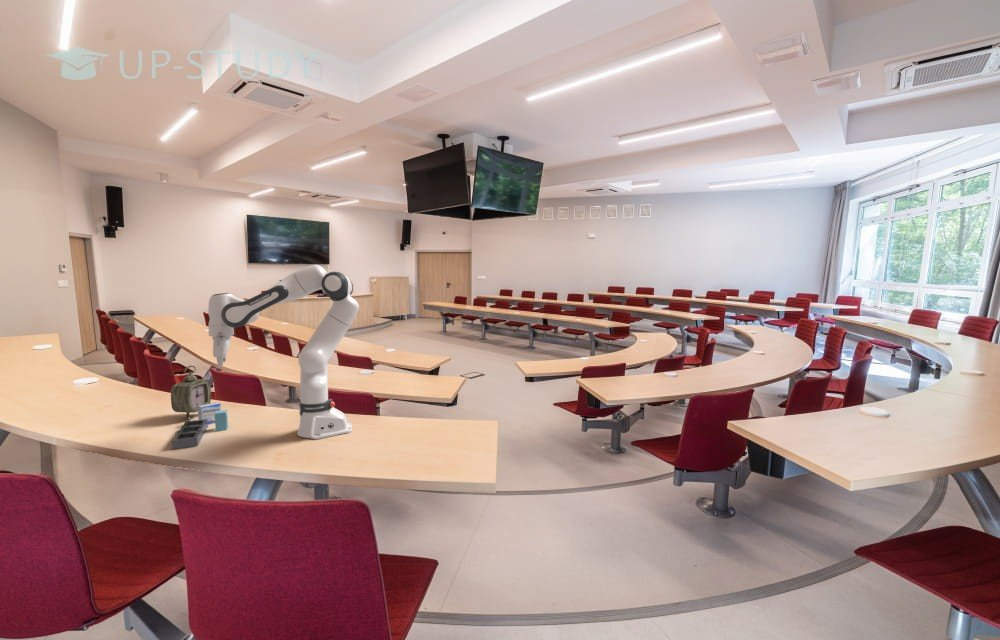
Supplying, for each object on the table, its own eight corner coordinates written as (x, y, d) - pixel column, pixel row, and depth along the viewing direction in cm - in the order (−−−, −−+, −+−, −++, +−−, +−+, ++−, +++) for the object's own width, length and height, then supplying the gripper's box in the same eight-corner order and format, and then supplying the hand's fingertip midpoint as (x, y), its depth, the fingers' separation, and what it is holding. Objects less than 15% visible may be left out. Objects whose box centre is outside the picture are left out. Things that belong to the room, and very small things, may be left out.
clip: (227, 427, 187) (227, 409, 186) (226, 430, 183) (225, 412, 183) (217, 428, 185) (216, 410, 184) (215, 431, 182) (214, 413, 181)
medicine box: (201, 426, 188) (200, 407, 187) (198, 423, 190) (197, 405, 190) (221, 421, 194) (220, 403, 193) (218, 419, 197) (217, 401, 196)
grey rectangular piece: (207, 426, 187) (207, 419, 187) (197, 446, 166) (196, 437, 165) (186, 429, 183) (185, 421, 183) (172, 449, 162) (171, 440, 162)
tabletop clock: (189, 422, 192) (186, 369, 189) (170, 422, 192) (167, 368, 189) (211, 412, 206) (209, 363, 204) (193, 412, 206) (191, 362, 204)
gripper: (227, 334, 166) (227, 368, 168) (232, 328, 185) (233, 359, 186) (208, 334, 164) (208, 369, 165) (215, 328, 182) (216, 359, 183)
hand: (221, 363), depth 175 cm, fingers open, 8 cm apart
